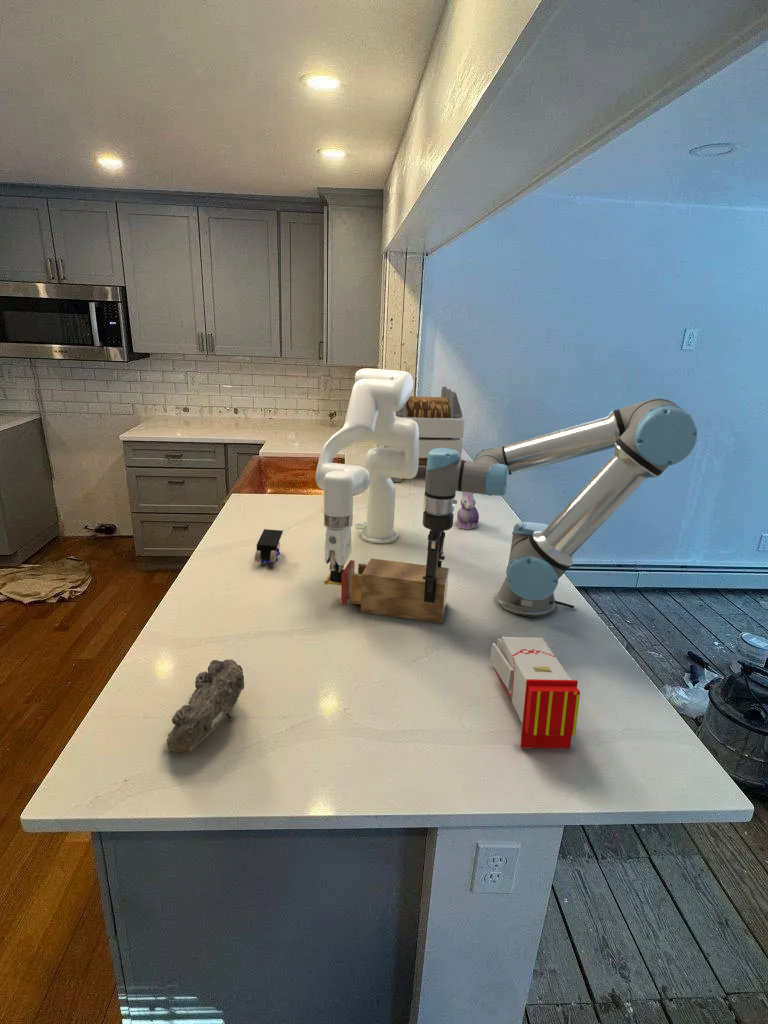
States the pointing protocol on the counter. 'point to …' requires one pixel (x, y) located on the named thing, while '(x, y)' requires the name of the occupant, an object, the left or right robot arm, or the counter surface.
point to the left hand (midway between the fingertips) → (336, 583)
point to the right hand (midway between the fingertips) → (432, 591)
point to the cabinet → (402, 590)
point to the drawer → (350, 583)
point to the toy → (537, 691)
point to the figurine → (467, 512)
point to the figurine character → (268, 546)
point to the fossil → (206, 705)
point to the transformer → (435, 423)
